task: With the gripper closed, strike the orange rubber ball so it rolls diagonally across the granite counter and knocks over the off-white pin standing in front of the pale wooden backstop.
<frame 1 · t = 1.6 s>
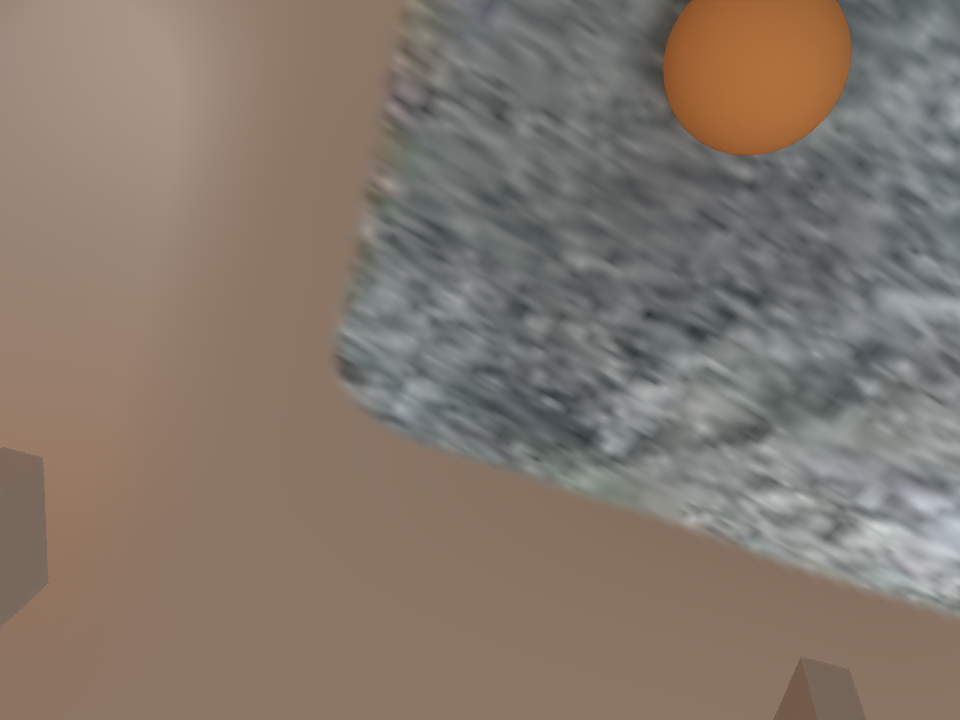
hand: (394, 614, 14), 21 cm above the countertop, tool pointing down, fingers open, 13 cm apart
ball: (754, 63, 25), on the countertop
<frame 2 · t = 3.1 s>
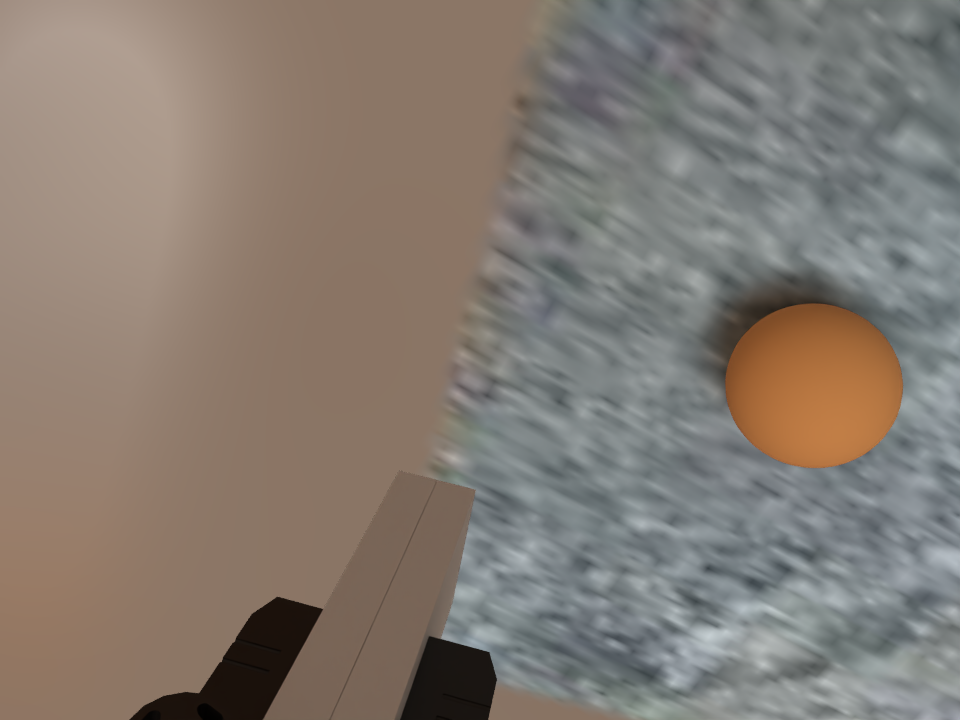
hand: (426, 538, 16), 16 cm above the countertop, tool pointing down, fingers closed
ball: (810, 385, 27), on the countertop
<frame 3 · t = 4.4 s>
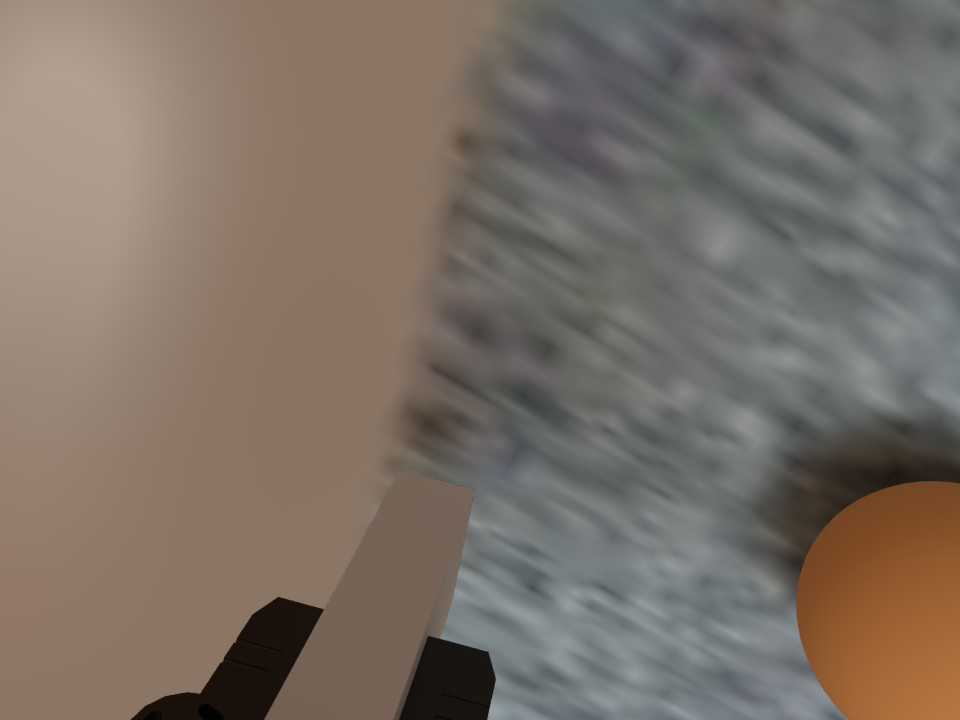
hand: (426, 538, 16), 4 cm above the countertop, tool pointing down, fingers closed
ball: (943, 619, 16), on the countertop
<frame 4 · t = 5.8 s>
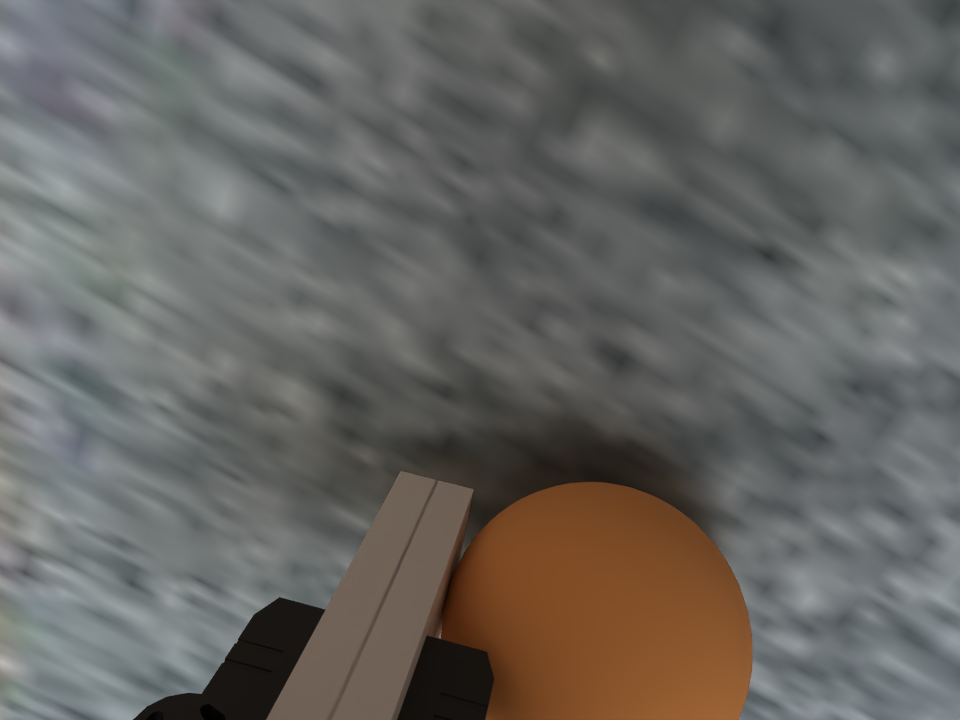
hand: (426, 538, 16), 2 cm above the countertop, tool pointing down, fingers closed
ball: (592, 634, 15), on the countertop
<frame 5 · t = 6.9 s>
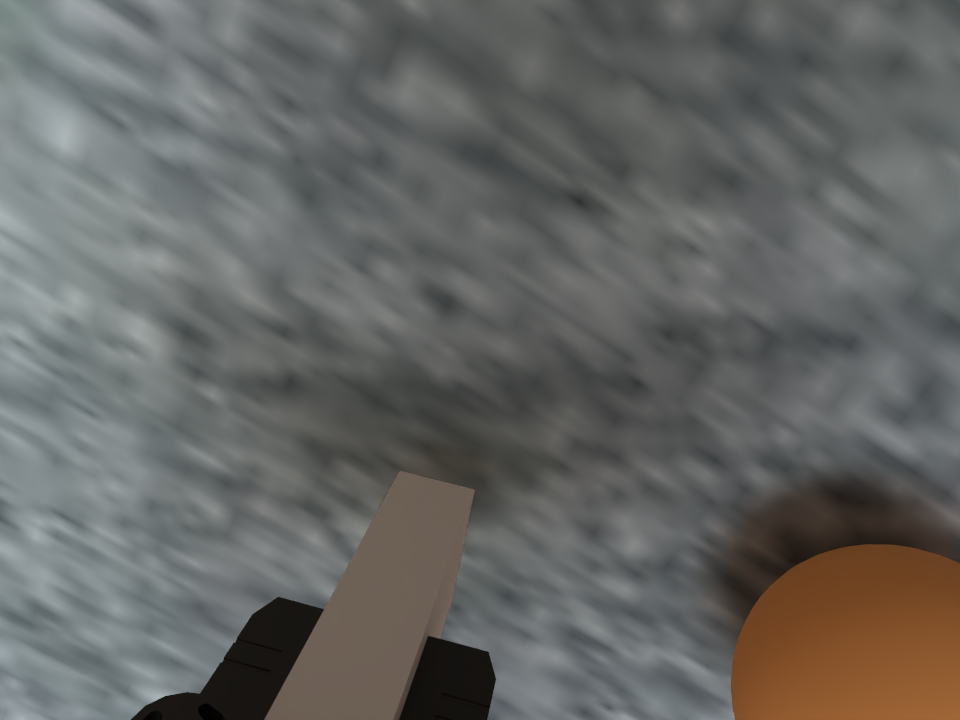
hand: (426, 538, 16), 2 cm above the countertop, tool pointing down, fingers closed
ball: (893, 702, 15), on the countertop
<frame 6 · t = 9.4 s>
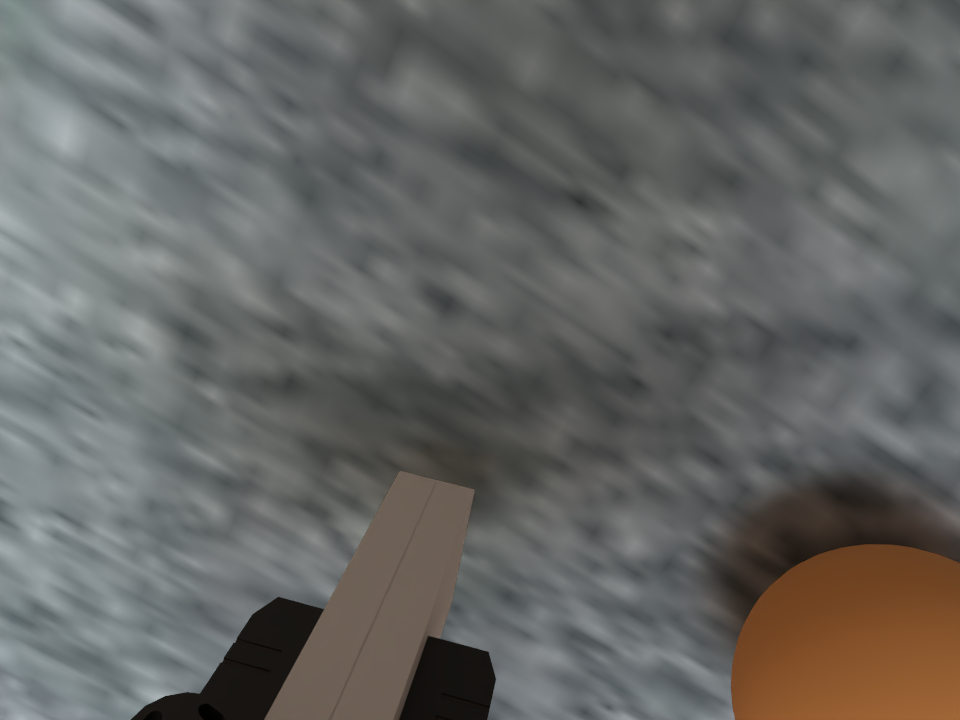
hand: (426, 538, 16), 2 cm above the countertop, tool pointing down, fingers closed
ball: (893, 702, 15), on the countertop
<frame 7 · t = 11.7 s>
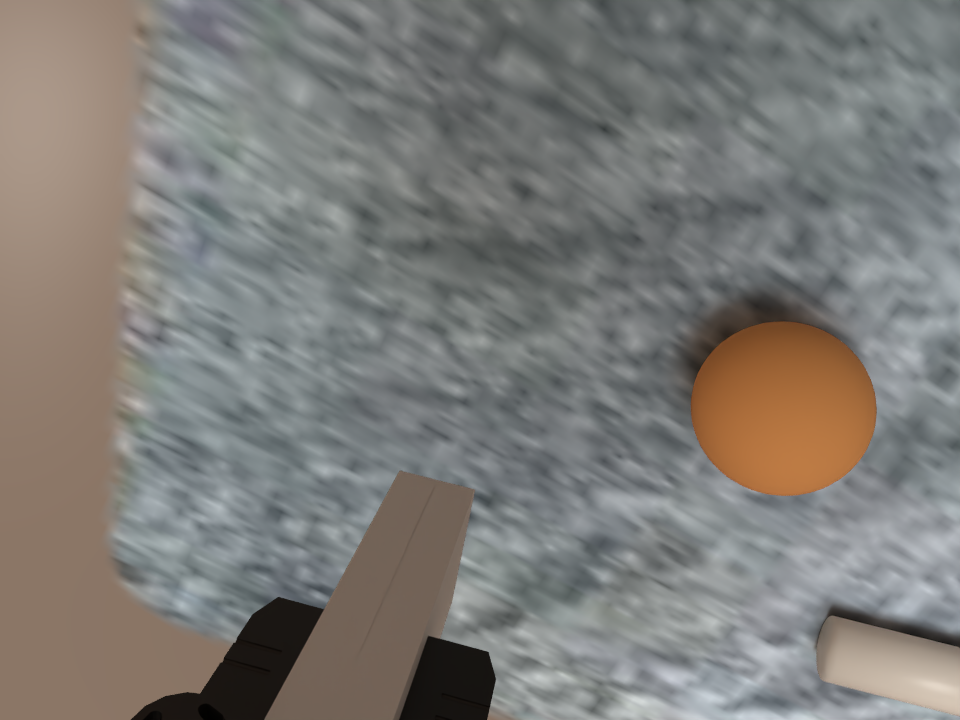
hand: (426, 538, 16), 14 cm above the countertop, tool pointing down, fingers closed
pin: (828, 648, 31), point 1 cm above the countertop, tilted 90°
ball: (780, 407, 26), on the countertop
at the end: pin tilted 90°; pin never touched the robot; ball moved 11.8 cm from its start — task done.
